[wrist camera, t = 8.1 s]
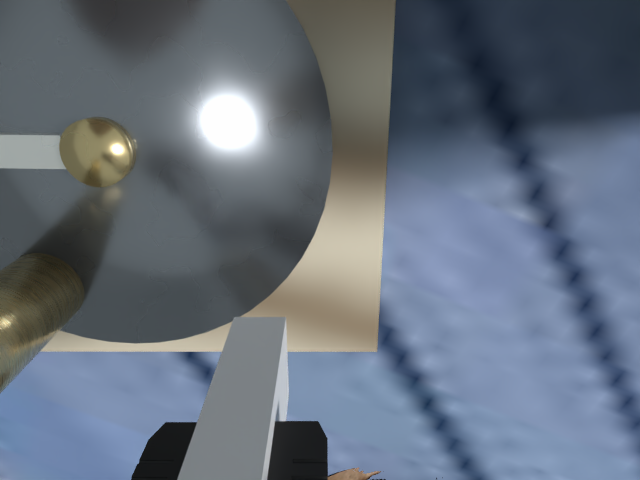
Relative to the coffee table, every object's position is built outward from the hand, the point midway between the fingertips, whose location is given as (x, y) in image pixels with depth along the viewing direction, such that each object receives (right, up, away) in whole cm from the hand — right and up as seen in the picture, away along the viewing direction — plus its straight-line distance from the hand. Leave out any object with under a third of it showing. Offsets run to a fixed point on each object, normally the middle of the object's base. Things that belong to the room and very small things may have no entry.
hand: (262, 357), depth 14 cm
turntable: (-5, +7, +2) cm, 9 cm away
